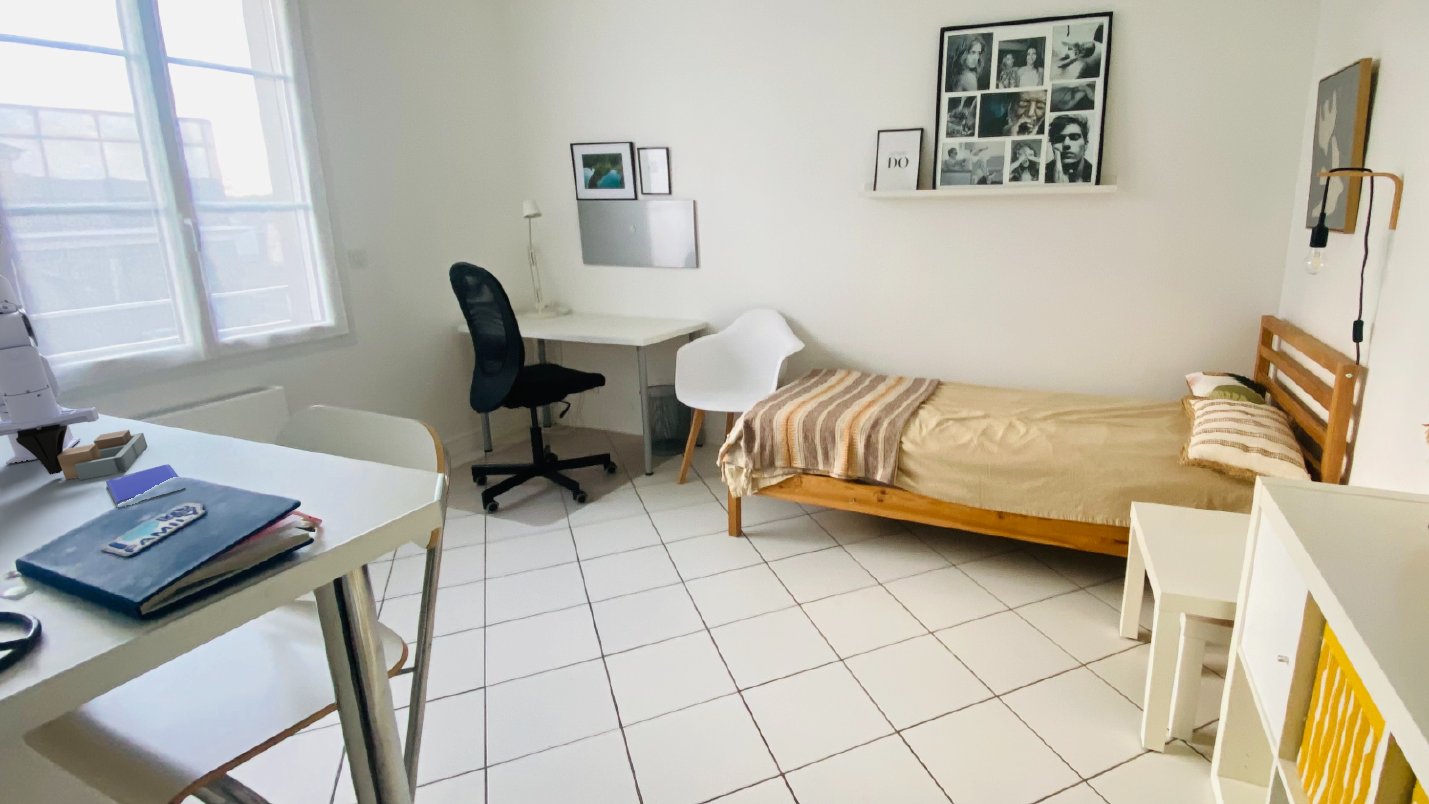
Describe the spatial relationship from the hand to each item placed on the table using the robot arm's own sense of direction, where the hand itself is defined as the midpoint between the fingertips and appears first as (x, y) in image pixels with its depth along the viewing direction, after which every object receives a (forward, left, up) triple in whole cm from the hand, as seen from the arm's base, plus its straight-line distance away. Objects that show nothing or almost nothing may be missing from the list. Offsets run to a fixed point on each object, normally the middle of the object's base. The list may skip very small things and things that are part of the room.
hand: (56, 471), depth 117 cm
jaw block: (0, +3, -1) cm, 4 cm away
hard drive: (+15, +15, -2) cm, 21 cm away
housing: (-3, +7, -1) cm, 7 cm away
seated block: (-7, +6, -1) cm, 9 cm away
